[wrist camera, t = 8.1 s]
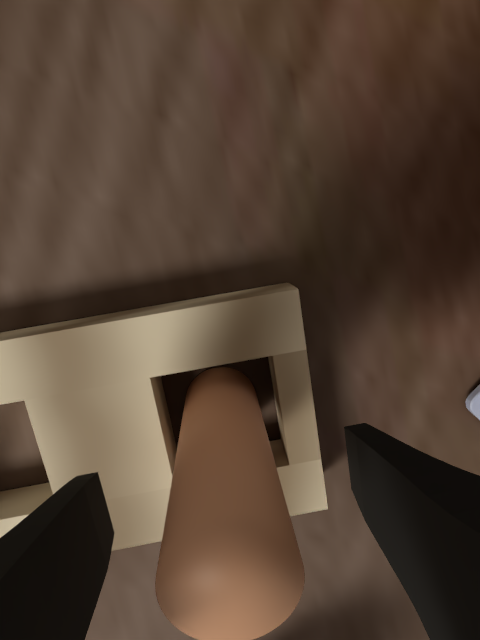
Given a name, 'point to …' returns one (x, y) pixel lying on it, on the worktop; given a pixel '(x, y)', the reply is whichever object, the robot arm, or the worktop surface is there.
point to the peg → (226, 519)
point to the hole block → (153, 399)
